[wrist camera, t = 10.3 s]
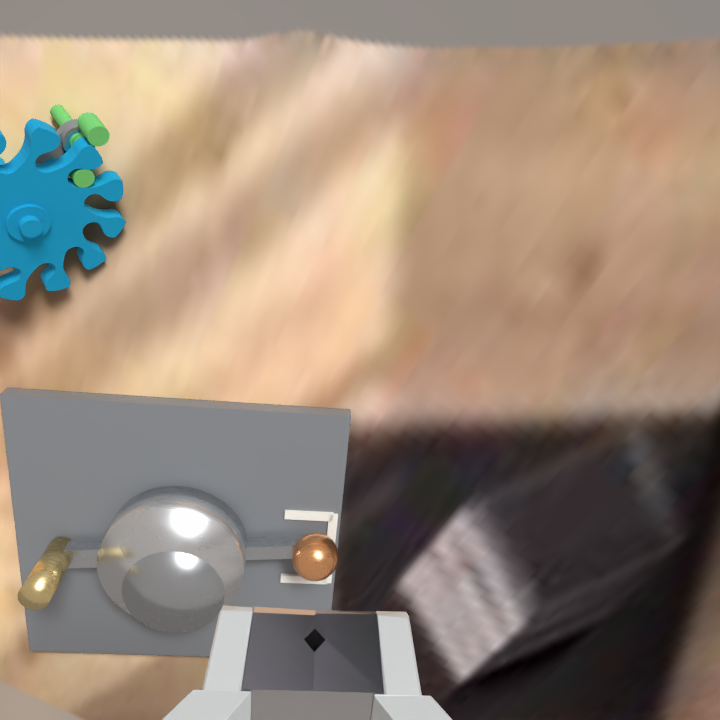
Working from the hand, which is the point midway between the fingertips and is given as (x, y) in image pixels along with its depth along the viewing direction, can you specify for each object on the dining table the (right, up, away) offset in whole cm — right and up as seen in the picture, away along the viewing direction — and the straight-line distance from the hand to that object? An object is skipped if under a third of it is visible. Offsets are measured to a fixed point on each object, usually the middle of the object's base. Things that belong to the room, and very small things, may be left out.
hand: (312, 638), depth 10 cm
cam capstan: (-10, -8, +32) cm, 35 cm away
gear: (-16, +13, +25) cm, 33 cm away
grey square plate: (-11, -7, +33) cm, 36 cm away
